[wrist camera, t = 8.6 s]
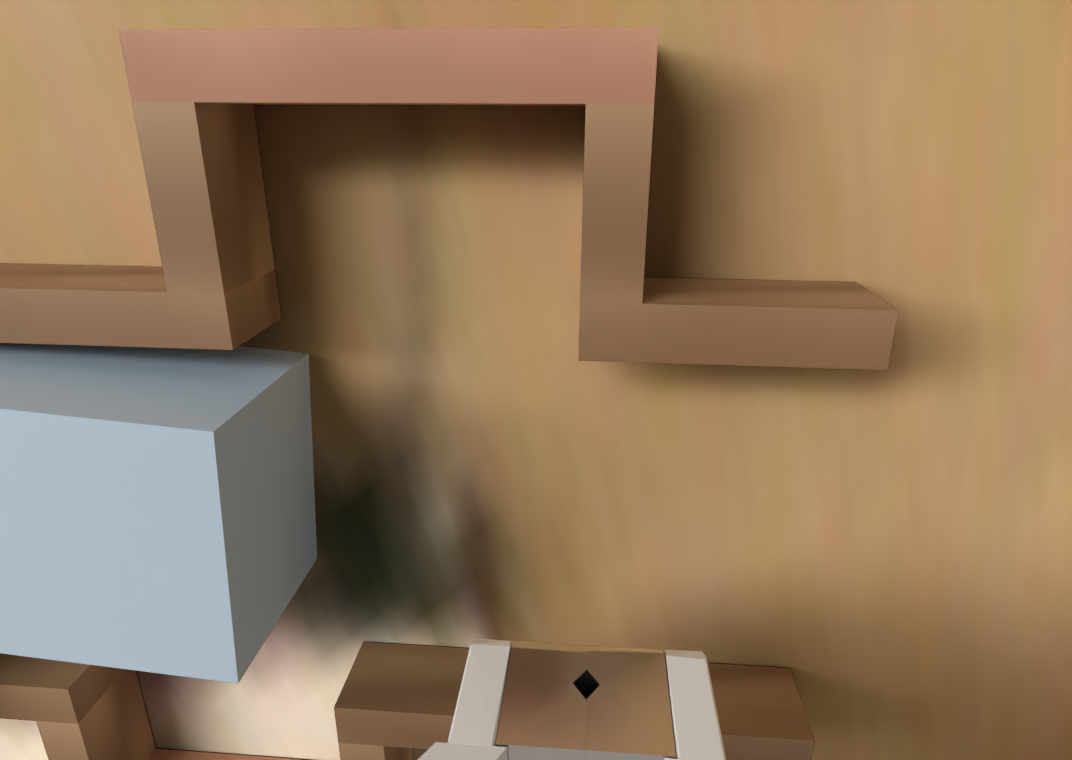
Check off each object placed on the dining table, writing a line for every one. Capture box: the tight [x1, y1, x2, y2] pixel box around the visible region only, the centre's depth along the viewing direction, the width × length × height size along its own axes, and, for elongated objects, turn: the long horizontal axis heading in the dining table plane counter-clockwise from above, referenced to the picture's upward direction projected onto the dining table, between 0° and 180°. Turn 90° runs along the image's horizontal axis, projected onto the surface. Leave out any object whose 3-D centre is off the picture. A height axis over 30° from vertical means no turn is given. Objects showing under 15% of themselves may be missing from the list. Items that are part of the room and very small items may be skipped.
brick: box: [0, 343, 317, 683], centre depth 14 cm, size 5×8×4 cm, turn 86°
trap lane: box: [0, 28, 899, 760], centre depth 14 cm, size 18×20×4 cm
